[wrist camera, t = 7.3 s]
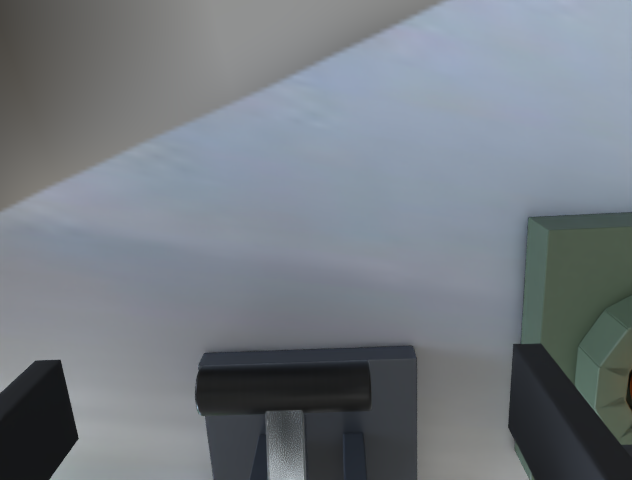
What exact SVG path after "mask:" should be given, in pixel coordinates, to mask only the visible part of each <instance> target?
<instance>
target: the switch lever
mask: <svg viewBox="0 0 632 480" xmlns="http://www.w3.org/2000/svg"><path fill="white" fill-rule="evenodd" d="M195 400H196V407H197V411H198V413H199V414H200V415H202V416H222V415H256V414H265V420H266V446H267V472H268V480H309V472H308V448H307V424H306V413H325V412H359V411H370V410H371V409H372V388H371V373H370V364H369V361H367V360H350V361H320V362H291V363H262V364H232V365H204V366H202V367H201V368H200V369H199V372H198V375H197V379H196V386H195Z"/></svg>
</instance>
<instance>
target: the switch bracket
mask: <svg viewBox="0 0 632 480" xmlns="http://www.w3.org/2000/svg"><path fill="white" fill-rule="evenodd" d="M350 360H367V361H369V364H370V373H371V388H372V409H371V410H370V411H359V412H325V413H306V424H307V448H308V472H309V480H417V358H416V355H415V351H414V348H413V346H395V347H367V348H339V349H310V350H282V351H254V352H225V353H204V355H203V357H202V359H201V361H200V363H199V365H198V370H199V369H200V368H201V367H202V366H204V365H232V364H262V363H291V362H320V361H350ZM205 421H206V428H207V436H208V443H209V450H210V458H211V465H212V472H213V480H268V472H267V446H266V420H265V414H256V415H222V416H205Z"/></svg>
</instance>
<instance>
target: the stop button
mask: <svg viewBox="0 0 632 480" xmlns="http://www.w3.org/2000/svg"><path fill="white" fill-rule="evenodd" d="M630 394H631V398H632V376H631V380H630Z"/></svg>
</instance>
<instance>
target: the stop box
mask: <svg viewBox="0 0 632 480" xmlns="http://www.w3.org/2000/svg"><path fill="white" fill-rule="evenodd" d="M535 343H541V344H542V345H543V346H544V348H545V349H546V350H547V351H548V353H549V354H550V355H551V357H552V358H553V359H554V360H555V362H556V363H557V364H558V365H559V367H560V368H561V369H562V370H563V372H564V373H565V374H566V375H567V377H568V378H569V379H570V381H571V382H572V383H573V384H574V386H575V387H576V388H577V389H578V391H579V392H580V393H581V394H582V396H583V397H584V398H585V399H586V401H587V402H588V403H589V405H590V406H591V407H592V408H593V410H594V411H595V412H596V413H597V415H598V416H599V417H600V418H601V420H602V421H603V422H604V424H605V425H606V426H607V427H608V429H609V430H610V431H611V432H612V434H613V435H614V436H615V437H616V439H617V440H618V441H619V442H620V444H621V445H632V398H631V394H630V380H631V376H632V212H629V213H608V214H587V215H565V216H544V217H529V218H528V234H527V251H526V268H525V285H524V301H523V318H522V335H521V344H535ZM515 452H516V454H517V456H518V458H519V460H520V462H521V464H522V466H523V468H524V470H525V472H526V474H527V476H528V478H529V480H535V479H534V477H533V475H532V473H531V471H530V469H529V467H528V465H527V463H526V461H525V459H524V457H523V455H522V453H521V451H520V449H519V447H518V445H517V443H516V441H515Z"/></svg>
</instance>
